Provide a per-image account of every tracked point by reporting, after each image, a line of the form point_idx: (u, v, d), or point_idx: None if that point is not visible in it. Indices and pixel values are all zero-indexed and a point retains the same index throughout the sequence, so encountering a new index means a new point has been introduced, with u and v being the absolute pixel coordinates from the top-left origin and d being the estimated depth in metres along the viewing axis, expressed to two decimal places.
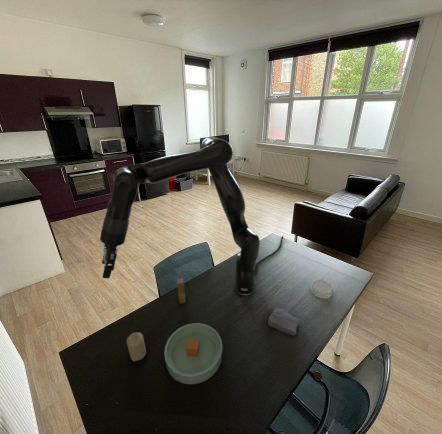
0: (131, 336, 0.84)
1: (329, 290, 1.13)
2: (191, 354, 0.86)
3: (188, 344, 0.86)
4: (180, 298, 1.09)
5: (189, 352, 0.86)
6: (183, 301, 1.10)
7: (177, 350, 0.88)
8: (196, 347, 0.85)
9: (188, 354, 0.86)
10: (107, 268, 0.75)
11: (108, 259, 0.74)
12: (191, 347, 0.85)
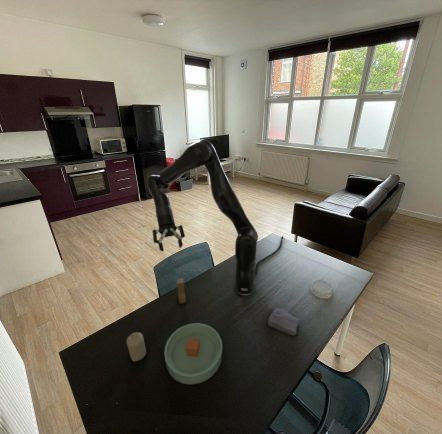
0: (131, 336, 0.84)
1: (329, 290, 1.13)
2: (191, 354, 0.86)
3: (188, 344, 0.86)
4: (180, 298, 1.09)
5: (189, 352, 0.86)
6: (183, 301, 1.10)
7: (177, 350, 0.88)
8: (196, 347, 0.85)
9: (188, 354, 0.86)
10: (154, 241, 1.08)
11: None
12: (191, 347, 0.85)
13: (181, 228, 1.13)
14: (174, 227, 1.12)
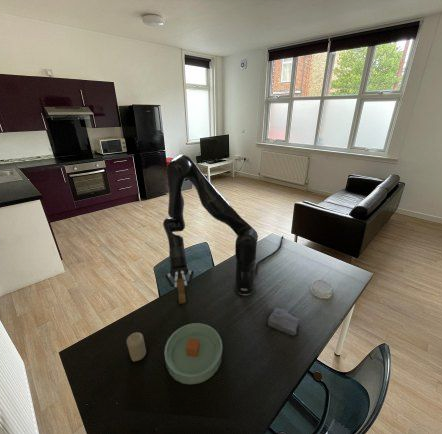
0: (131, 336, 0.84)
1: (329, 290, 1.13)
2: (191, 354, 0.86)
3: (188, 344, 0.86)
4: (179, 298, 1.09)
5: (189, 352, 0.86)
6: (183, 301, 1.10)
7: (177, 350, 0.88)
8: (196, 347, 0.85)
9: (188, 354, 0.86)
10: None
11: None
12: (191, 347, 0.85)
13: (191, 274, 1.10)
14: (186, 269, 1.10)
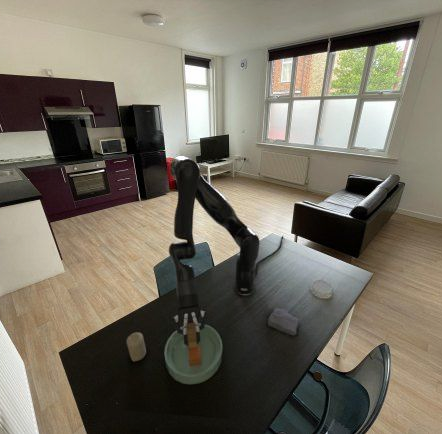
0: (131, 336, 0.84)
1: (329, 290, 1.13)
2: (194, 363, 0.83)
3: (190, 354, 0.83)
4: (190, 347, 0.85)
5: (192, 362, 0.82)
6: None
7: (177, 350, 0.88)
8: (199, 355, 0.82)
9: (191, 364, 0.83)
10: None
11: None
12: (194, 356, 0.82)
13: (205, 316, 0.86)
14: (197, 310, 0.87)
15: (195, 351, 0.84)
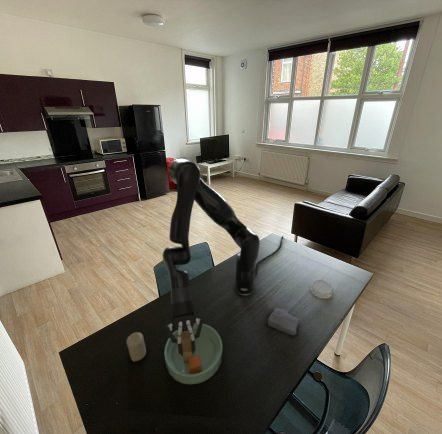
0: (131, 336, 0.84)
1: (329, 290, 1.13)
2: (195, 372, 0.80)
3: (190, 363, 0.80)
4: (184, 357, 0.82)
5: (193, 371, 0.80)
6: None
7: (177, 350, 0.88)
8: (199, 363, 0.80)
9: (191, 373, 0.80)
10: None
11: None
12: (194, 365, 0.79)
13: (200, 324, 0.83)
14: (192, 318, 0.83)
15: (195, 359, 0.81)
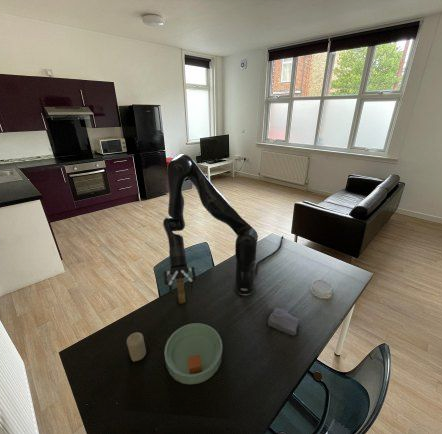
0: (131, 336, 0.84)
1: (329, 290, 1.13)
2: (195, 372, 0.80)
3: (190, 363, 0.80)
4: (179, 298, 1.09)
5: (193, 371, 0.80)
6: (183, 301, 1.10)
7: (177, 350, 0.88)
8: (199, 363, 0.80)
9: (191, 373, 0.80)
10: None
11: None
12: (194, 365, 0.79)
13: (193, 270, 1.11)
14: (185, 269, 1.10)
15: (195, 359, 0.81)
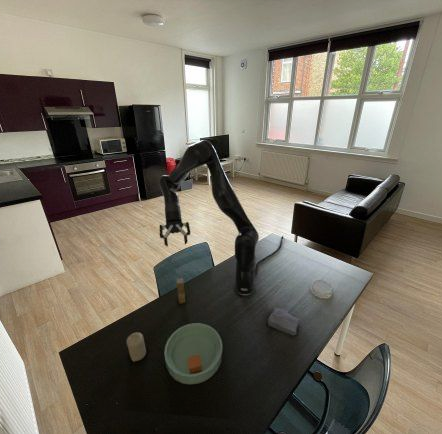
0: (131, 336, 0.84)
1: (329, 290, 1.13)
2: (195, 372, 0.80)
3: (190, 363, 0.80)
4: (179, 298, 1.09)
5: (193, 371, 0.80)
6: (183, 301, 1.10)
7: (177, 350, 0.88)
8: (199, 363, 0.80)
9: (191, 373, 0.80)
10: (160, 236, 1.12)
11: None
12: (194, 365, 0.79)
13: (187, 225, 1.14)
14: (180, 224, 1.14)
15: (195, 359, 0.81)
